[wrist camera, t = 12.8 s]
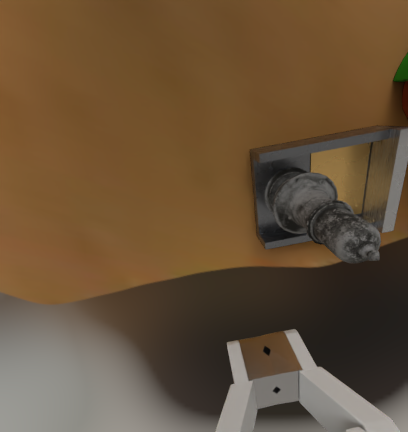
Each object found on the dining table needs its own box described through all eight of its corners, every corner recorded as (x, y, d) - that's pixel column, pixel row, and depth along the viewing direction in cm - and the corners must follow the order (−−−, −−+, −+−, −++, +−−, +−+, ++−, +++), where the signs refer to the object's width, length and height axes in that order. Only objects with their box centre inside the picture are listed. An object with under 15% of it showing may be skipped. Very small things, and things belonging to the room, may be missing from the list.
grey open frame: (256, 235, 26) (268, 254, 23) (249, 149, 22) (263, 155, 19) (364, 215, 26) (393, 230, 23) (377, 125, 22) (414, 126, 19)
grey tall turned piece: (321, 162, 22) (451, 207, 11) (312, 216, 25) (411, 296, 14) (263, 166, 22) (338, 214, 11) (259, 220, 24) (318, 303, 13)
